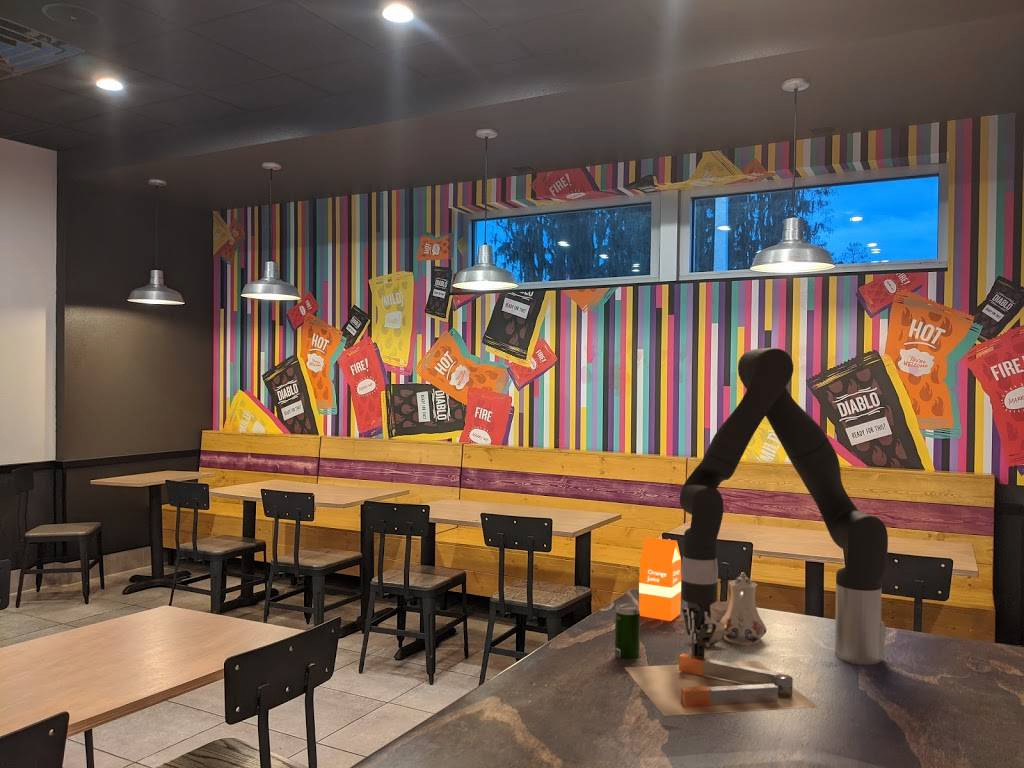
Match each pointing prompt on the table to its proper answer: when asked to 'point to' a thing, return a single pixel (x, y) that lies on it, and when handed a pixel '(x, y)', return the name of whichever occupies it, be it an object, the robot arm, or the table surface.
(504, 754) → the table surface
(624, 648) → the beer can
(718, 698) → the tong fixed arm
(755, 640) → the chinaware
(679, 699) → the cutting board
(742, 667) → the tong free arm
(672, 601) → the orange juice
